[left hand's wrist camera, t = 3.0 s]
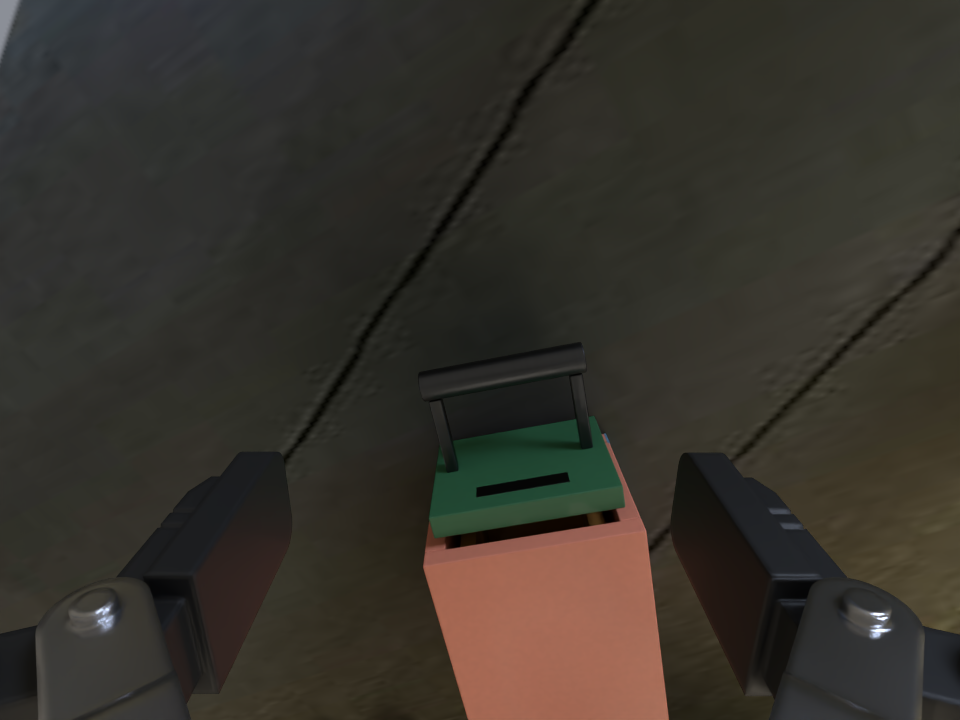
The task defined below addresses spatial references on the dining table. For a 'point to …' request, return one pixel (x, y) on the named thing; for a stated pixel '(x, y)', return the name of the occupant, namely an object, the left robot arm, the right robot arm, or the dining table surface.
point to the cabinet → (553, 621)
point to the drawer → (519, 457)
